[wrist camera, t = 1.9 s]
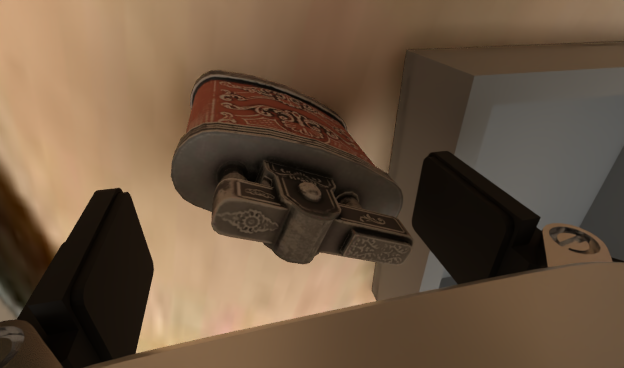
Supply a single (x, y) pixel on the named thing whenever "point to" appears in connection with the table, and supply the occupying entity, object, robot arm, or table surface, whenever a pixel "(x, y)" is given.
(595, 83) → the bin
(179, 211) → the table surface
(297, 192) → the lighter
